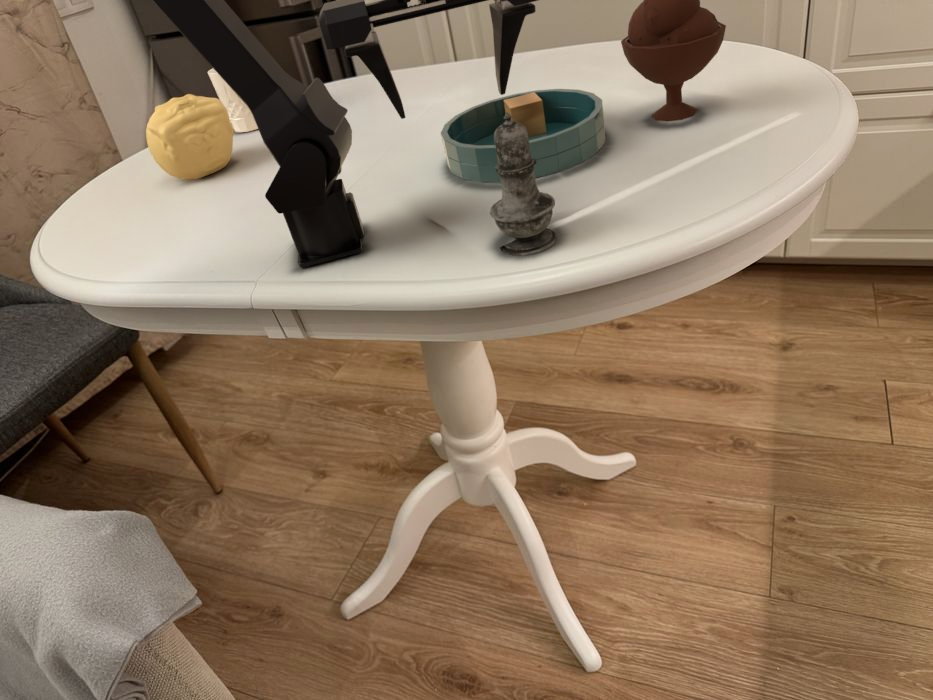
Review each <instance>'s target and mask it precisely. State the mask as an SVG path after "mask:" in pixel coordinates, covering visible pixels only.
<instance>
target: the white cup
mask: <svg viewBox="0 0 933 700" xmlns="http://www.w3.org/2000/svg"><path fill="white" fill-rule="evenodd" d="M207 75H208V77H209V79H210V81H211V83H212V86H213V89H215V90H214V91H215V93H216V95H217V97H218V99H219V100H220V101H221V102H222V104H223V105H224V107H225V108H226V109H227V112H228V115H229V119H230V122H231V124H232V126H233V129H234V133H248V132H252V131H255V130H259V129H258V127H257V124H256V122H255V120H254V117H253V115H252V113H251V111H250V109H249V108H248V106H247V105H246V104H245V103H244V102H243V101H242V100H241V99H240V97H239V96H238V95H237V94H236V93H235V92H234V91H233V90H232V89H231V87H230V86H229V85H228V84H227V83H226V82H225V81H224V80H223V79H222V78H221V76H220V75H219V74H218V73H217V72H216V71H215V70H214V69H213V68H212V67H211V69H209V70H208V71H207Z"/></svg>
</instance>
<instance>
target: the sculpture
mask: <svg viewBox="0 0 933 700" xmlns="http://www.w3.org/2000/svg"><path fill="white" fill-rule="evenodd" d="M145 134H146V135H145V136H146V144H147V147H148V150H149V153H150V155H151V156H152V158H153V160H154V161H155V163H156V164H157V165H158V166H159V168H160V169H161V170H162V171H164V173H166V174H168V176H171V177H173V178H177V179H182V180H195V179H201V178H204V177H206V176H209V175H211V174H214V173H216V172H218V171H220V170H223V169H224V168H225V167H226V166H227V165H228V164H229V162H230V160H231V158H232V155H233V145H234V134H235V130H234V128H233V126H232V124H231V121H230V119H229V115H228V112H227V109H226V108H225V107H224V105H223V104H222V102H221V101H220V100H219V98H217V97H209V96H207V97H206V96H202V95H195V94H192V93H187V94H185V95H184V96H181V97H172V98H170V99H169V100H168V101H167V102H164V103H163V104H159V105H156V106H155V107H154V112H153V113H152V114H151V116H150V117H149V120H148V122H147V124H146V131H145Z"/></svg>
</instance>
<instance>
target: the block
mask: <svg viewBox="0 0 933 700" xmlns="http://www.w3.org/2000/svg"><path fill="white" fill-rule="evenodd" d="M504 107H505V113H506V112H508V113H509V114H510V116H512V117H511V121H514V122H519V123H521V124H523V125H524V126H525V127H526V129H527V132H528V137H531V136H535V135H539V134H543V133H546V132H547V131H546V124H545V117H544V109H543V102H542V99H541V98H540V97H539V96H538V95H537V94H536V93H535V92H533V93H529V94H525V95H521V96H517V97H514V98H510V99H506V100H504Z"/></svg>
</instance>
